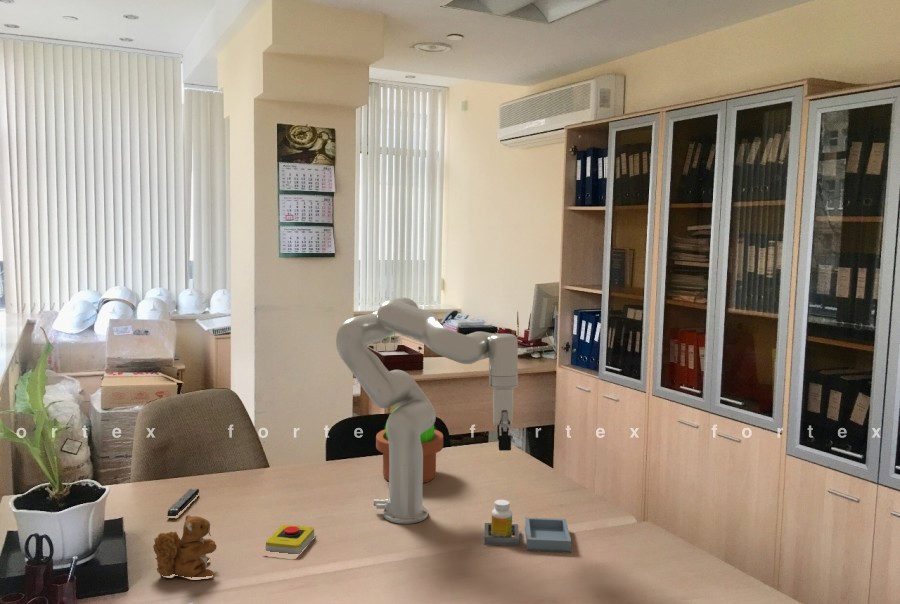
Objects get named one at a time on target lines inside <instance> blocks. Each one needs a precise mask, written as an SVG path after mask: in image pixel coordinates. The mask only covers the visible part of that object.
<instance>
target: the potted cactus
mask: <svg viewBox="0 0 900 604" xmlns="http://www.w3.org/2000/svg"><path fill="white" fill-rule="evenodd" d="M397 408H398V407H397V406H396V408H394V409H393V410H392V412H393V411H394V410H395V409H397ZM388 415H389V416H390V414H388ZM389 416H388V417H389ZM384 424H385V426H384V429H382V430H380V431H379V432H377V433H376V436H375V448H376V450H377V451H378V452H380V453H382V475H383V478H384V479H385V480H386V481H388V482H389V441H388V435H387V422H386V423H384ZM420 440H421V444H422V448H423V484H425V483H428V482H431V480H433V479H434V478H435V477H436V474H437V473H436V472H437V471H436V469H437V467H436V466H437V464H436V463H437V453H439V452H440V451H443V447H444V434H443V432H441V431H439V430H438V429H436V428H435V423H434V424H433V426H432V427H431V428H430V429H428V430H427V431H425V432H424V433H422V434H421V435H420Z"/></svg>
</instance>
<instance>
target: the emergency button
mask: <svg viewBox="0 0 900 604" xmlns="http://www.w3.org/2000/svg"><path fill="white" fill-rule="evenodd" d="M314 534H315V528H314V527H312V526H304V525H294V524H293V525H292V524H281V526H280V527H278V529H277V530H275V531H274V532H273V533H272V535H271V536H270V537H269V538H268V539H267V540H266V541H265V550H266V551H270V552H279V553H288V554H300V553H301V552H302V550H303V549H304V548H305V547H306V546H307V545H308V544H309V543H310V542H311V540H312V539H313V538H314V537H315V536H314ZM315 538H316V537H315ZM311 543H312V542H311ZM311 543H310V544H311ZM310 544H309V545H310Z"/></svg>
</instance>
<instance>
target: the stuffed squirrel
mask: <svg viewBox="0 0 900 604" xmlns="http://www.w3.org/2000/svg"><path fill="white" fill-rule="evenodd" d="M184 521H185V522H184V524H183V528H182V529H183V530H182V531H183V532H182V536H181V537H180V536H179V535H178V533H177V531H169V532H165V533H164V532H161V533H158V534H157V536H156V537H154V544H153V546H152V548H153V551H154V553H155V555H156V557H155V560H156V563H157V564H156V565H157V568H156V570H157V573H158V574H159V575H160V576H161V575H163V576H170V575H172V574H175V575H178V577H179V576H184V577H191V578H192V577H206V576H212V575H213V574H214V575H215V573H214V572H213V570H212V569H207V567H208V564H207V561H208V560H209V559H210V560H211V558H210V557H209V556H207V555H208V554H211V553H214V552H215V551H216V550H217V543H216V541H214V540H213V539H212V538H204V537H205V536H207V535H208V536H210V537H211V536H212V535H211V532H210V531H211V523H210V521H209V520H208V519H207V518H206V519H205V518H203V517H201V516H197V515H195V516H191V515H188V514H187V515H185V520H184Z"/></svg>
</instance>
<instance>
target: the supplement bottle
mask: <svg viewBox="0 0 900 604" xmlns="http://www.w3.org/2000/svg"><path fill="white" fill-rule="evenodd" d="M510 503H511V502H510V501H509V500H506V499H497V500H495V501H494V505H493V506H494V508H493V509H492V511H491V523H492V524H491V532H490V536H511V537H513V535H512V534H513V533H512V524H513V511H512V510H511V509H510V507H511V505H510Z"/></svg>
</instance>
